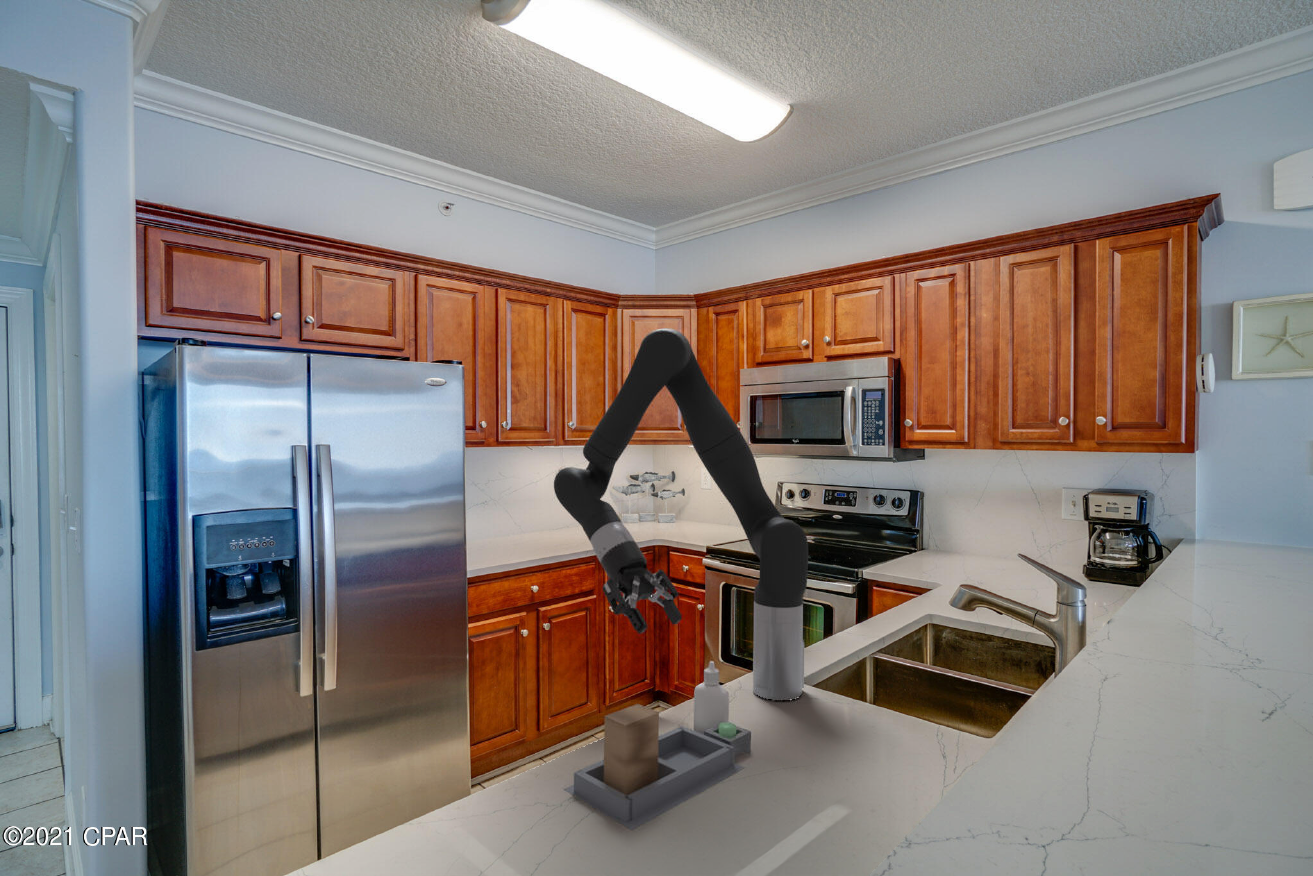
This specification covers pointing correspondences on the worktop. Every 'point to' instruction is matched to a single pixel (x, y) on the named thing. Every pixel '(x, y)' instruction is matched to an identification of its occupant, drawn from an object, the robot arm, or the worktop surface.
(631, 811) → the tray
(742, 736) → the button box
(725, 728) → the button
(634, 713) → the walnut block
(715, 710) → the eye dropper bottle
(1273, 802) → the worktop surface
